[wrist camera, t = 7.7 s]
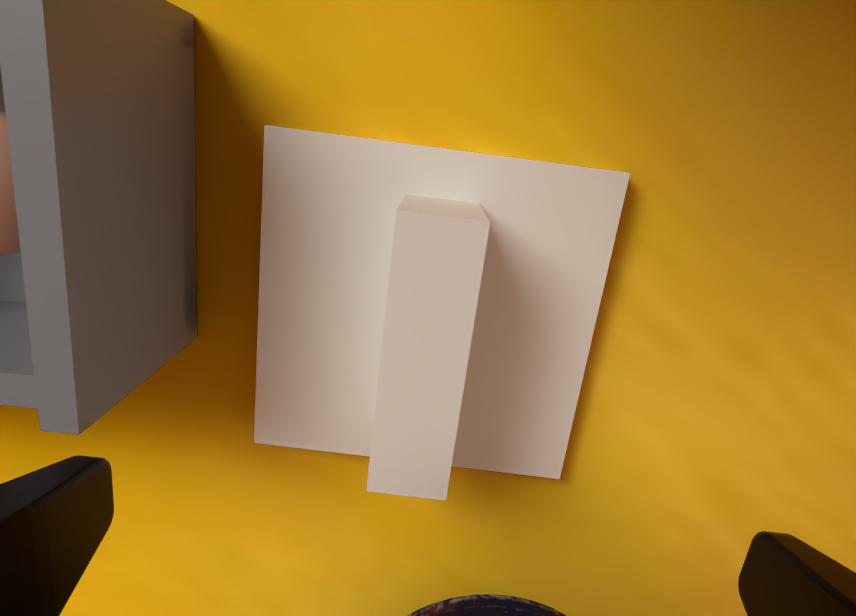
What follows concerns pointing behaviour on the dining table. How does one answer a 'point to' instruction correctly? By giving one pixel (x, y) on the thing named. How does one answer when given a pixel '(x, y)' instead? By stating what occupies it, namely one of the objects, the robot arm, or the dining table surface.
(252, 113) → the dining table surface
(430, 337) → the lid
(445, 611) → the storage jar
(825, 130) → the dining table surface
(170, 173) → the grey open box
